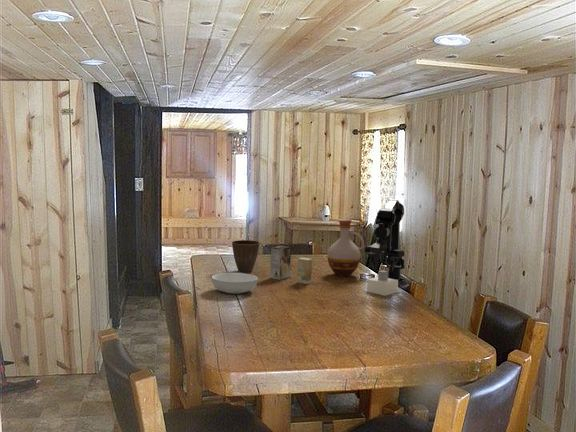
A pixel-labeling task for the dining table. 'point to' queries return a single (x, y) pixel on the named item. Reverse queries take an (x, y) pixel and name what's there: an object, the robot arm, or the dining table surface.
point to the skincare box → (304, 270)
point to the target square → (382, 295)
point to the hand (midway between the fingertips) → (383, 269)
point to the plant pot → (245, 254)
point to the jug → (344, 252)
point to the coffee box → (280, 262)
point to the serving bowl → (234, 282)
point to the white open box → (382, 284)
